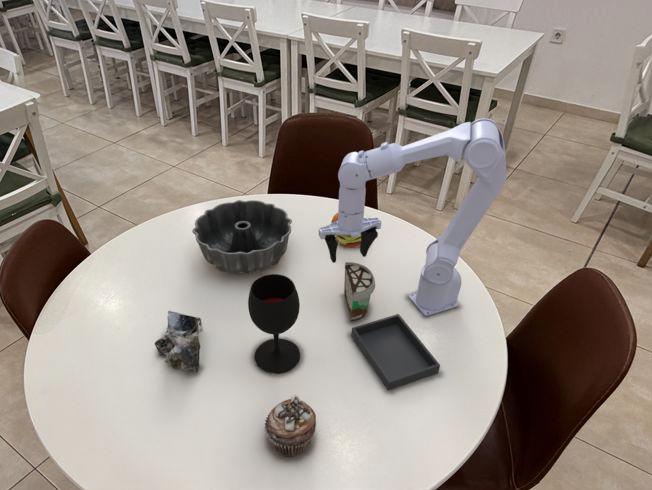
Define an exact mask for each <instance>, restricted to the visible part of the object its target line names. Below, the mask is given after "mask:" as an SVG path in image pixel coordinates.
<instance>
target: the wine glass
mask: <svg viewBox="0 0 652 490" xmlns="http://www.w3.org/2000/svg"><path fill="white" fill-rule="evenodd" d="M247 298H248V299H247V307H248V308H247V309H248V313H249V317H250V319H251V321H252V323H253V324H254V326H255V327H256V328H257V329H259V330H260V331H262V332H263V333H265V334H269V335H272V336H273V338H271V339H268V340H266V341H264V342H262V343H260V344H259V345H258V347H256V349H255V351H254V355H253V356H254V363H255V365H256V366H257V367H258V368H259V369H260V370H262V371H264V372H266V373H269V374H276V375H277V374H284V373H287V372H290V371H292V370H293V369H294V368H296V366H297V365H298V364H299V362H300V360H301V351H300V349H299V347H298V345H296V344H295V343H294V342H293V341H292V340H289V339H286V338H279V335H281V334H283V333H286V332H287V331H289V330H290V329H291V328H292V327H293V326H294V325H295V323H296V321H297V320H298V317H299V314H300V308H301V307H300V306H301V305H300V304H301V303H300V298H299V294H298V290H297V287H296V285H295V283H294V281H293V280H292V279H291V278H290V277H289V276H286V275H283V274H279V273H270V274H269V273H268V274H265V275H261V276H260V277H258V278H256V279H255V280H254V281H253V282H252V283H251V286H250V288H249V293H248V297H247Z"/></svg>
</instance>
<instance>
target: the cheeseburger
mask: <svg viewBox="0 0 652 490" xmlns="http://www.w3.org/2000/svg"><path fill="white" fill-rule="evenodd" d="M336 221H338V212H336V213H335V214H334V215H333V216H332V218H331V223H330V224H332V223H334V222H336ZM335 237H336V240H337V242H338V243H339V244H341V245H342V246H343V247H347V248H357V247H360V245H361V233H360V236H357V237H352V236H351V235H335Z"/></svg>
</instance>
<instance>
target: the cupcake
mask: <svg viewBox="0 0 652 490" xmlns="http://www.w3.org/2000/svg"><path fill="white" fill-rule="evenodd" d="M316 419H317V416H316V412H315V411H314V409H313V408H312V407H311V406H310V405H309V404H308V403H307V402H305V401H304V400H301V399H300V397H299V396H298V395H297V394H294V395H292V396H291V398H288V399H286V400H282V401H281V402H279V403H278V404H276V405H275V406H274V407H273V408H272V409H271V410H270V411H269V412H268V414H267V416H266V419H264V422H265V423H264V424H263V425H264V427H263V428H264V432H265V435H266V437H267V438H268V441H269V444H270V445H271V448H272V449H273V450H274V451H275V452H276V453H277V454H279V455H281V456H283V457H287V458H288V457H296V456H300V455H301V454H302V453H304V452H305V451H306V450H307V449H308V448H309V446H310V445H311V442H312V439H313V437H314V434H315V433H316V427H317V420H316Z"/></svg>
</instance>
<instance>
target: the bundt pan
mask: <svg viewBox="0 0 652 490" xmlns="http://www.w3.org/2000/svg"><path fill="white" fill-rule="evenodd" d="M292 223H293V219H292V218H289V216H288V212H286V210H285V209H283V208H280V207H278V206H276V205H275V204H274V203H266V202H264V201H262V200H254V199H253V200H240V199H239V200H238V199H237V200H235V201H233V202H224V203H223V202H222V203H220V204H217V205H216V206H214V207H213V208H210V209H206V210H205V211H204V213H203V214H201V215H200V216H198V217H197V218H196V220H195V222H194V228H193V229H192V234H193V235H194V236H195V237H194V238H195V241H196V242H197V244H198V247H199V249H200V252H201V253H202V255H203V258H204V260H205V261H206V262H207V263H209V264H210V265H211V266H214V267H215V269H216V270H217V271H219V272H224V271H225V272H227V273H229V274H232V275H239V274H242V273H244V274H246V275H249V276H250V275H251V274H252V273H253V272H264V271H265V270H268V268H270V266H275V265H277V264H278V263H279V262H280V260H281V258H282V257H283V256H284V255H285V254H286V251H287V249H288V244H289V238H290V235H291V233H292V225H291V224H292Z"/></svg>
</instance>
